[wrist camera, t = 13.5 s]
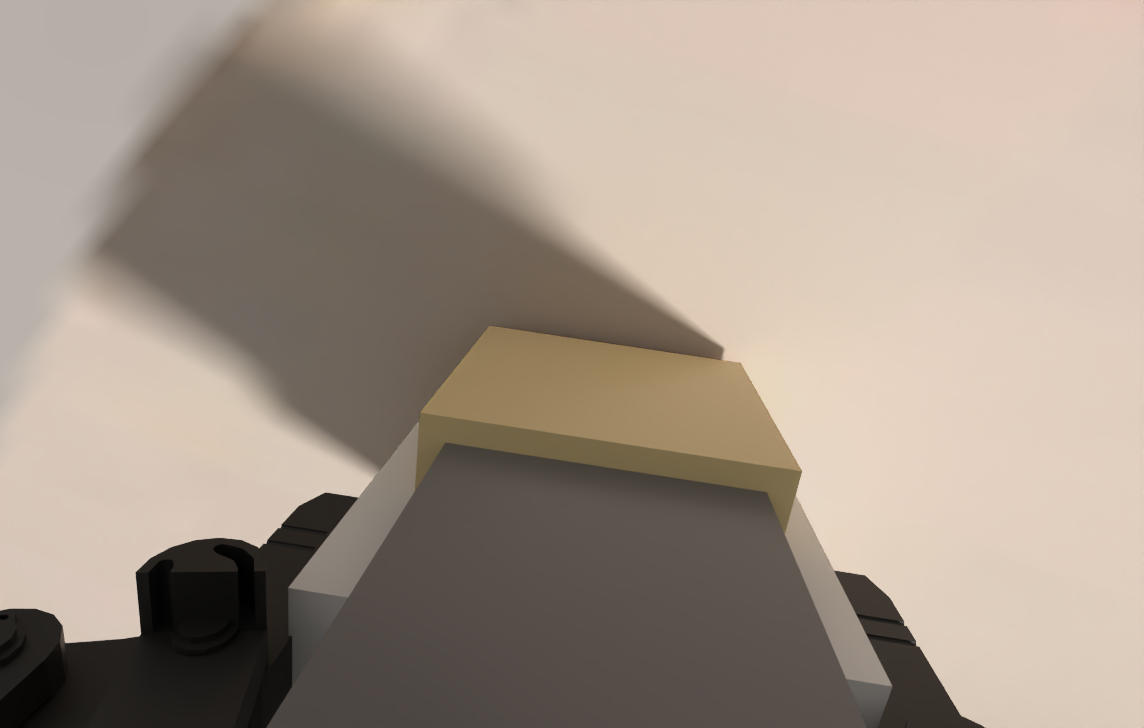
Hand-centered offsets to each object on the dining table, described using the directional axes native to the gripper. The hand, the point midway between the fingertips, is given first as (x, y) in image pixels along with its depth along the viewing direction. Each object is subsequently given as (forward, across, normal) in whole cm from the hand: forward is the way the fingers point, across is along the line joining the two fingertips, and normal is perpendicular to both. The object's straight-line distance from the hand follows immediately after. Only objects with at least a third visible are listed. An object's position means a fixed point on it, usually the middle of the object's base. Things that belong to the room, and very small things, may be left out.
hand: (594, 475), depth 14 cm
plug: (+1, 0, 0) cm, 1 cm away
